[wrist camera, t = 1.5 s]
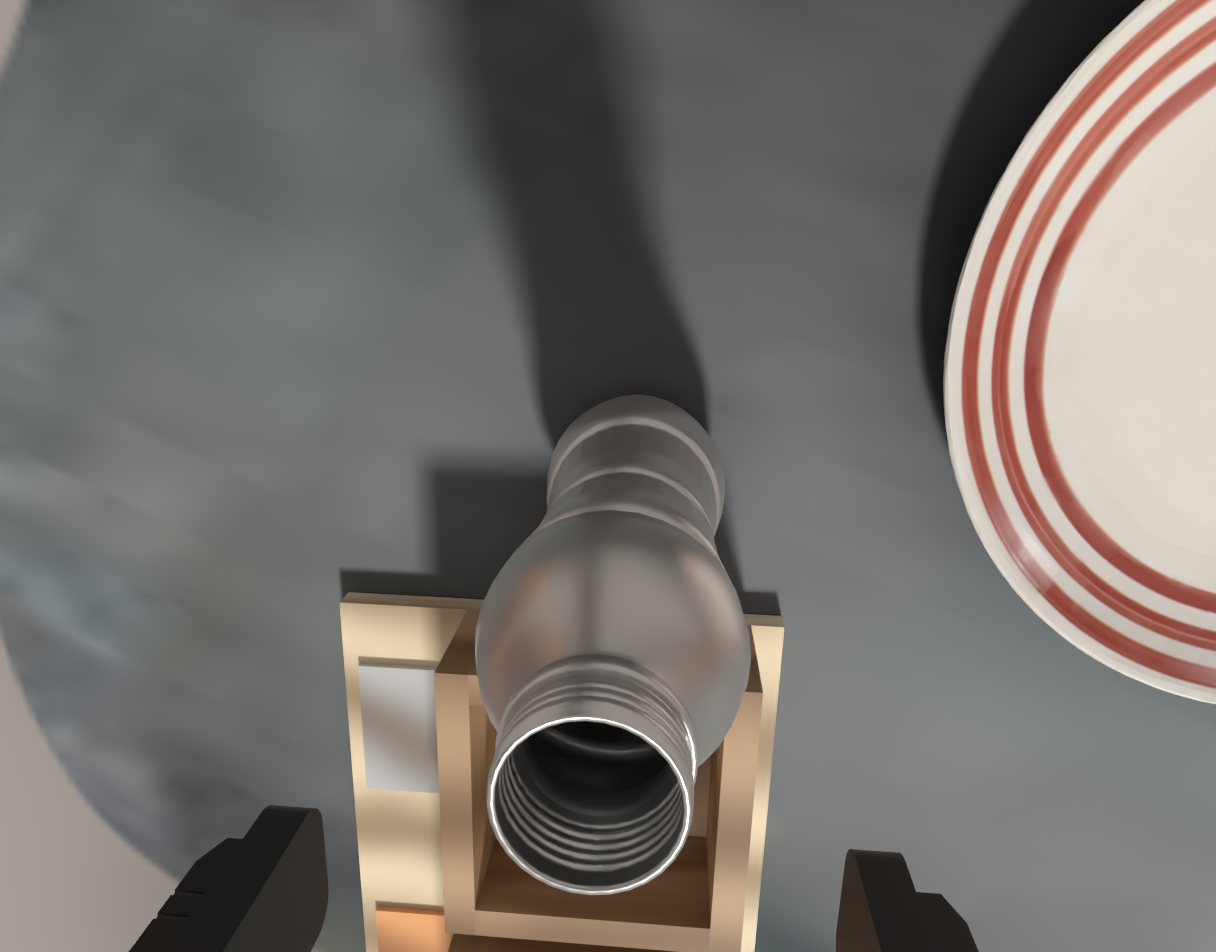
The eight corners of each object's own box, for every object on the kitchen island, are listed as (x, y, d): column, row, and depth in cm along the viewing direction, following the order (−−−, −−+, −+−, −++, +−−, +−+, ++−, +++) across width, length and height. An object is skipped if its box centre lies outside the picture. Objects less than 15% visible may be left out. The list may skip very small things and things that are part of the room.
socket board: (348, 592, 36) (287, 664, 30) (781, 615, 35) (801, 695, 29) (380, 1028, 43) (335, 1153, 38) (740, 1060, 42) (750, 1194, 36)
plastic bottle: (723, 381, 32) (789, 628, 13) (720, 549, 34) (774, 972, 15) (553, 382, 33) (382, 622, 14) (560, 547, 35) (418, 956, 16)
